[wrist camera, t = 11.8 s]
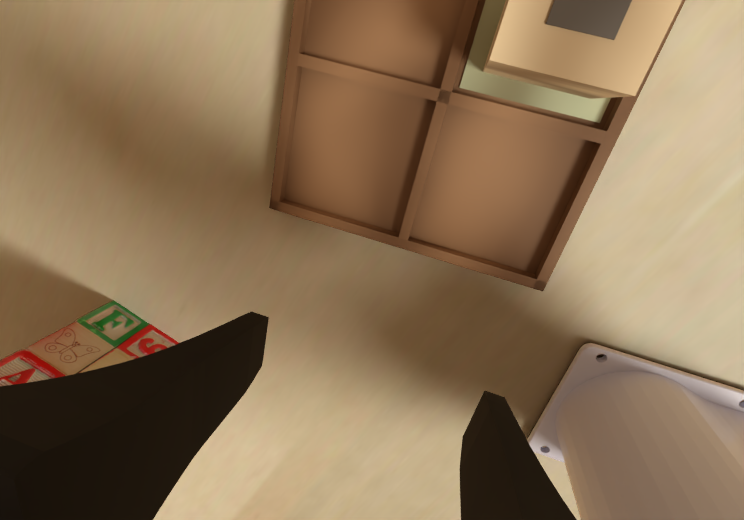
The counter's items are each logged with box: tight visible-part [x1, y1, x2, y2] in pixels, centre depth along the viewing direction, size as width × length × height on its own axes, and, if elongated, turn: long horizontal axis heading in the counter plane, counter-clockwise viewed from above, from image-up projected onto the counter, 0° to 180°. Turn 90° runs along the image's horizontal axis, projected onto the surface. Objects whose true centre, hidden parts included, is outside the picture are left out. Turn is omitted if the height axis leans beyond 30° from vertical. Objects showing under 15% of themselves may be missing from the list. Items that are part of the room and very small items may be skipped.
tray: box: [270, 0, 685, 291], centre depth 17 cm, size 14×14×1 cm
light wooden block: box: [483, 0, 682, 99], centre depth 13 cm, size 4×4×5 cm
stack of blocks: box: [0, 300, 179, 386], centre depth 26 cm, size 21×6×12 cm, turn 148°
